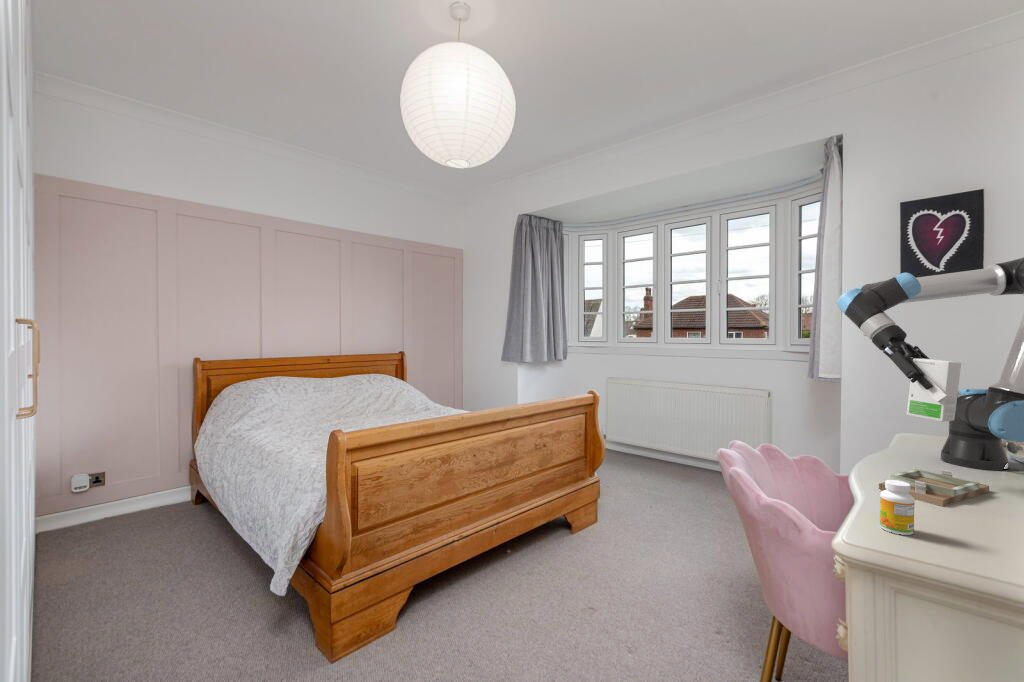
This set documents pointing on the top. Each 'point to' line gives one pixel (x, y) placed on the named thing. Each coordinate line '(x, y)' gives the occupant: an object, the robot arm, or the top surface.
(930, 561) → the top surface
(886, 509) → the supplement bottle
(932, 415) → the skincare box
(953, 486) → the board
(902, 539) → the top surface
